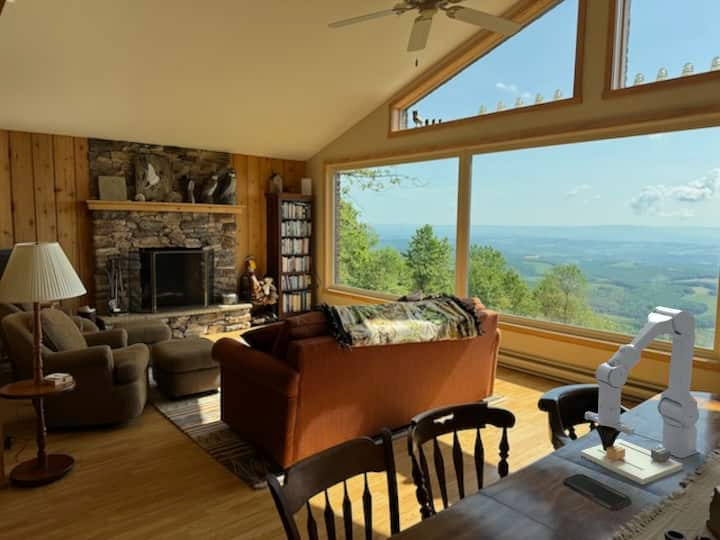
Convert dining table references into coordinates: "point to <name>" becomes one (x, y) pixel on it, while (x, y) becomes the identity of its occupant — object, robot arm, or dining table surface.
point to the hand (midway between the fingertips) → (607, 450)
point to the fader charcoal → (660, 454)
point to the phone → (597, 491)
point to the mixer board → (633, 462)
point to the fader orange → (615, 452)
